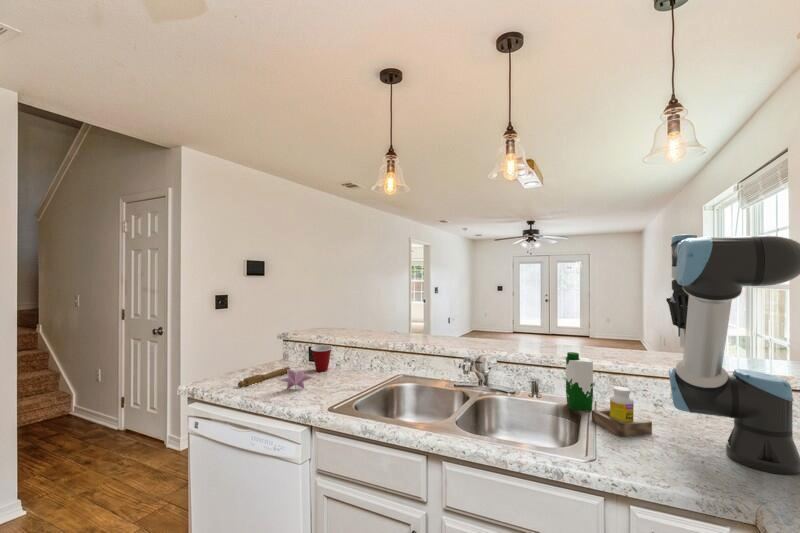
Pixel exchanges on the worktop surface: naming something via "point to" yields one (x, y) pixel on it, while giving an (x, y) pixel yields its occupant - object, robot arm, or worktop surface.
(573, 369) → the milk carton
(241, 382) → the tap handle
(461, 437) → the worktop surface
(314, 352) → the plastic cup
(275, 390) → the worktop surface
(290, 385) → the lily
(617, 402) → the supplement bottle
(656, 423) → the worktop surface
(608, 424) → the walnut dock
